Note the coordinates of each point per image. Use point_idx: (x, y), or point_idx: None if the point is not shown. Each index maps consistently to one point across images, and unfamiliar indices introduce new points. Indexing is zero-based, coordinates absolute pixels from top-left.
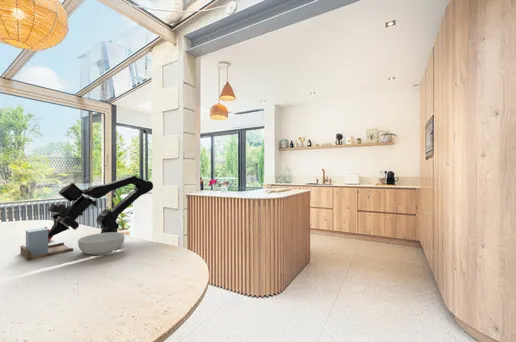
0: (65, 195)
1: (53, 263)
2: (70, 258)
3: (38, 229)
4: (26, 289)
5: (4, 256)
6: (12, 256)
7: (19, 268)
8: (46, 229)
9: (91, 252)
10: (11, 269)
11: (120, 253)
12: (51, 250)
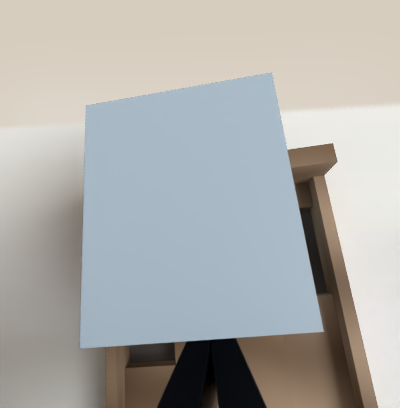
0: None
1: (8, 294)
2: (16, 388)
3: (203, 219)
4: None
5: (353, 107)
6: (321, 139)
7: (65, 168)
8: (90, 324)
9: None
10: (78, 143)
11: None
12: None
